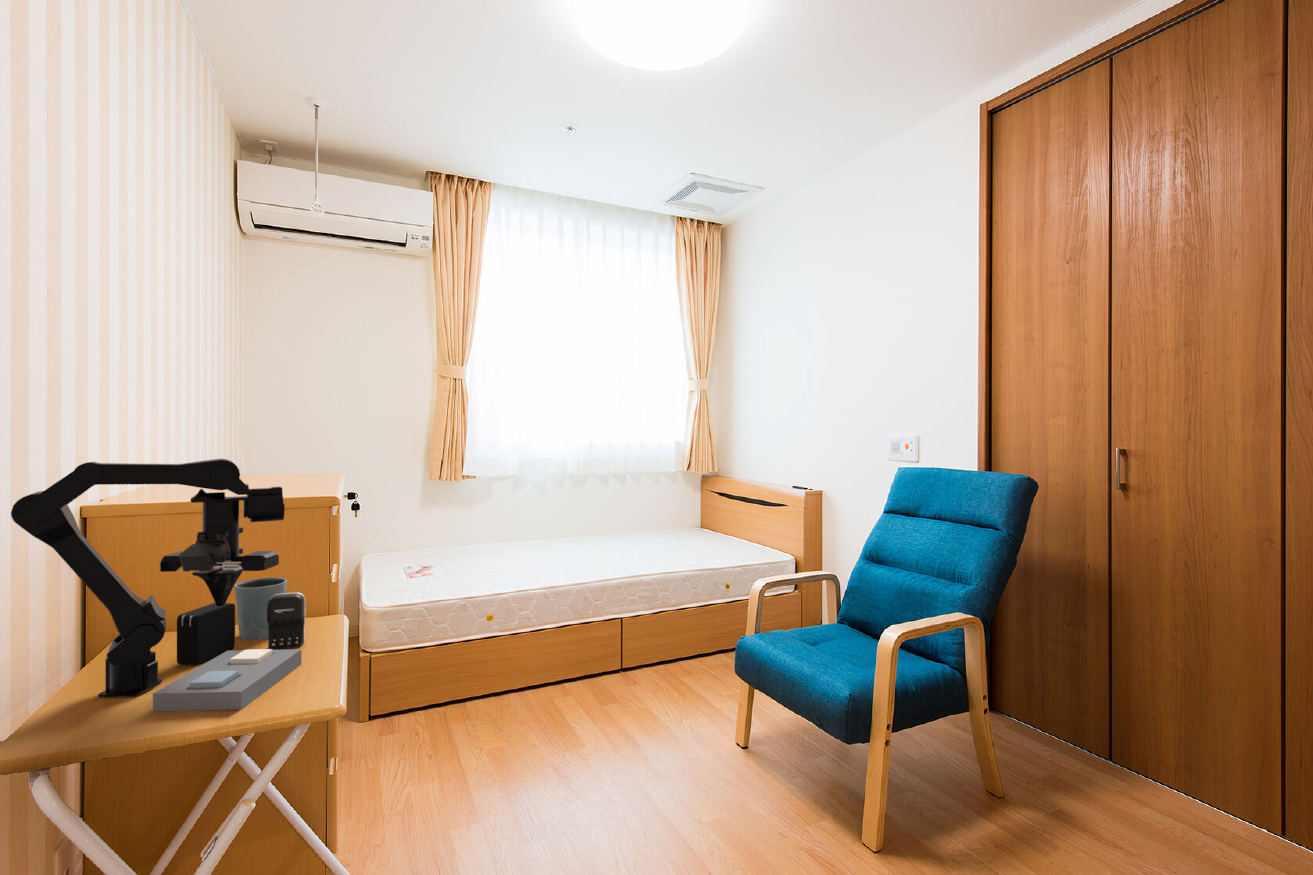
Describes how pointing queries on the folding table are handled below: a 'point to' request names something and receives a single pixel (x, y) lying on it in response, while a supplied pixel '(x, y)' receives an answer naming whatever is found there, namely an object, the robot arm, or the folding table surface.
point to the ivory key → (251, 656)
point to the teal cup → (256, 605)
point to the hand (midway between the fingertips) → (220, 605)
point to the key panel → (233, 694)
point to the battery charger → (286, 620)
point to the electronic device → (205, 633)
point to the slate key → (214, 679)
